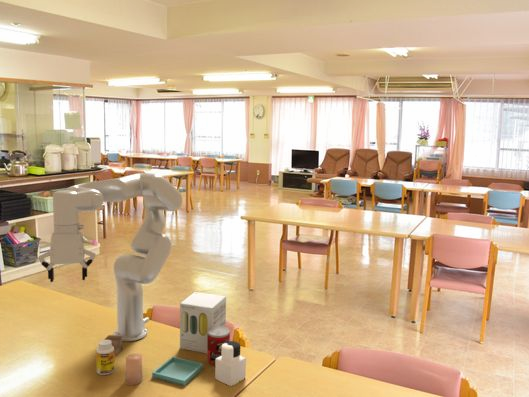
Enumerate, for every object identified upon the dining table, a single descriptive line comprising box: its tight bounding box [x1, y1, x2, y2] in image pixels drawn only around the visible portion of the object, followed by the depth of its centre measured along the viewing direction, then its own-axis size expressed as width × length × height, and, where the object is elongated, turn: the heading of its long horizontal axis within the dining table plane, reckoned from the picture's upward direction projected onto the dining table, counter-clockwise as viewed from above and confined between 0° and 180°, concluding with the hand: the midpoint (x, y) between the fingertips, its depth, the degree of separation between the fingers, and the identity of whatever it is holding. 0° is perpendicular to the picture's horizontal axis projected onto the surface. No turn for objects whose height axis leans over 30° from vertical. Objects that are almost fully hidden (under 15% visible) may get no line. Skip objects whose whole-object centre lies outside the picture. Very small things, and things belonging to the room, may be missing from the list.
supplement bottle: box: [95, 339, 115, 376], centre depth 154 cm, size 6×6×10 cm
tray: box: [151, 356, 204, 387], centre depth 155 cm, size 12×12×2 cm
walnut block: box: [103, 334, 123, 357], centre depth 168 cm, size 5×5×5 cm
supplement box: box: [179, 291, 227, 354], centre depth 175 cm, size 13×13×18 cm
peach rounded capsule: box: [125, 353, 143, 386], centre depth 149 cm, size 5×5×8 cm
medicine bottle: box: [214, 340, 247, 387], centre depth 151 cm, size 7×7×12 cm
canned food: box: [206, 326, 231, 366], centre depth 163 cm, size 8×8×11 cm
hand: (68, 279), depth 154 cm, fingers open, 9 cm apart
